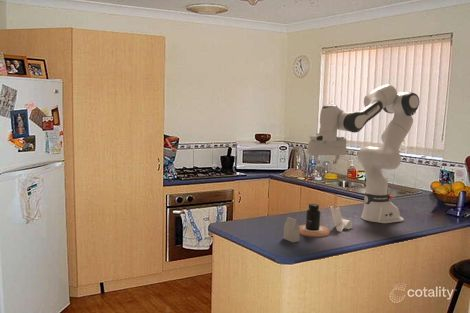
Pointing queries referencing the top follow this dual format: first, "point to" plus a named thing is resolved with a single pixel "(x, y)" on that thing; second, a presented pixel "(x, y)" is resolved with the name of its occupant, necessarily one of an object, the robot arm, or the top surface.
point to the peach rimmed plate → (318, 233)
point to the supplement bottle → (313, 217)
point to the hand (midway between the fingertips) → (326, 163)
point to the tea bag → (291, 230)
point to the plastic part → (340, 220)
